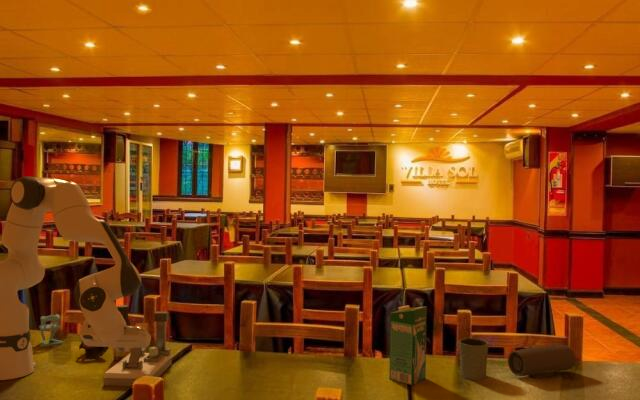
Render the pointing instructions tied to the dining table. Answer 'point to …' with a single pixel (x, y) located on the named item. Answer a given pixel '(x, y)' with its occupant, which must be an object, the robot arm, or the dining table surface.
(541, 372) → the bluetooth speaker
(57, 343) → the chair
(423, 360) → the milk carton
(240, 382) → the dining table surface
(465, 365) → the grey cup
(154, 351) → the push button
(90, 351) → the pottery mug
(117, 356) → the sauce bottle
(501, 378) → the dining table surface
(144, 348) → the block
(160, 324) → the lever black
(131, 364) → the lever orange
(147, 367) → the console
